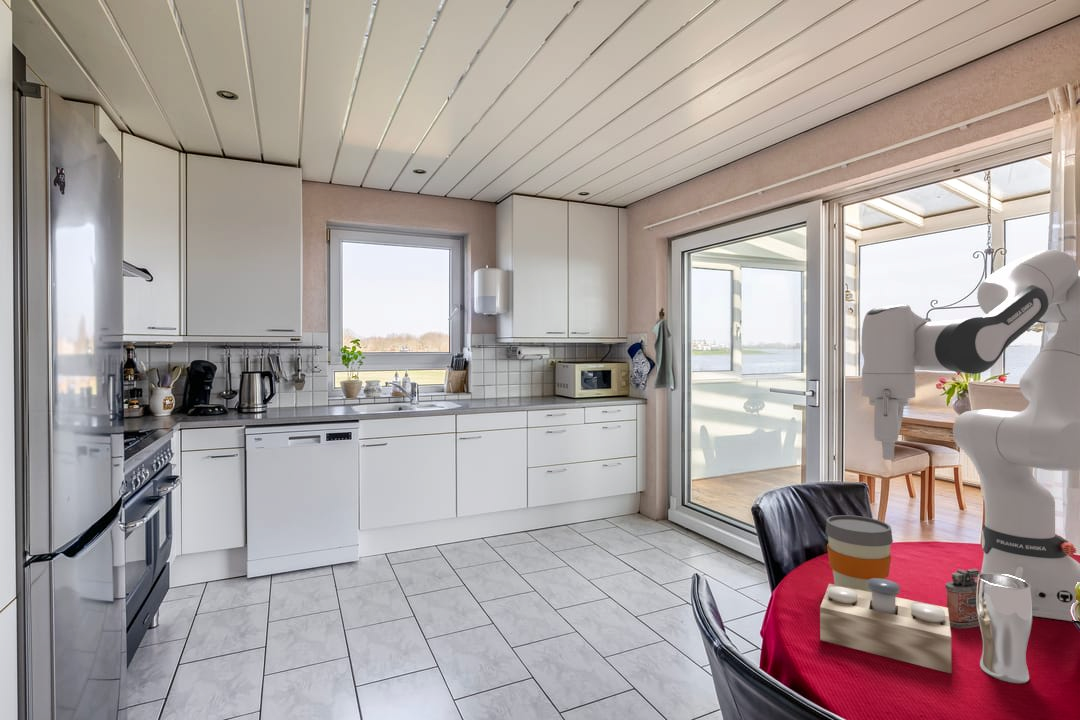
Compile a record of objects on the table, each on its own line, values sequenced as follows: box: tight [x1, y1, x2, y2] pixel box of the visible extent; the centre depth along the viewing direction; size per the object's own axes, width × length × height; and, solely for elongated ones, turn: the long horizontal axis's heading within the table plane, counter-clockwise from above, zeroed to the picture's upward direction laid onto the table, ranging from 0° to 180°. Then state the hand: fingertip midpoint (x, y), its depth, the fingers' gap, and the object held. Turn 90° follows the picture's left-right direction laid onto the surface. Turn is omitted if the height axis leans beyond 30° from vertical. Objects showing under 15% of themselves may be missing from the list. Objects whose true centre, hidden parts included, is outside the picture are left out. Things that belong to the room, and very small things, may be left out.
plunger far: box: [828, 587, 857, 606], centre depth 102 cm, size 5×5×7 cm
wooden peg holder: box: [819, 583, 952, 674], centre depth 99 cm, size 19×12×6 cm, turn 55°
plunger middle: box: [868, 578, 900, 615], centre depth 98 cm, size 5×5×7 cm
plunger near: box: [911, 603, 945, 625], centre depth 95 cm, size 5×5×7 cm
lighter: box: [944, 568, 981, 629], centre depth 104 cm, size 8×3×10 cm, turn 105°
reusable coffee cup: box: [825, 514, 894, 592], centre depth 118 cm, size 13×13×15 cm
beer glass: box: [976, 572, 1033, 684], centre depth 88 cm, size 7×7×15 cm
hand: (888, 458), depth 107 cm, fingers closed
